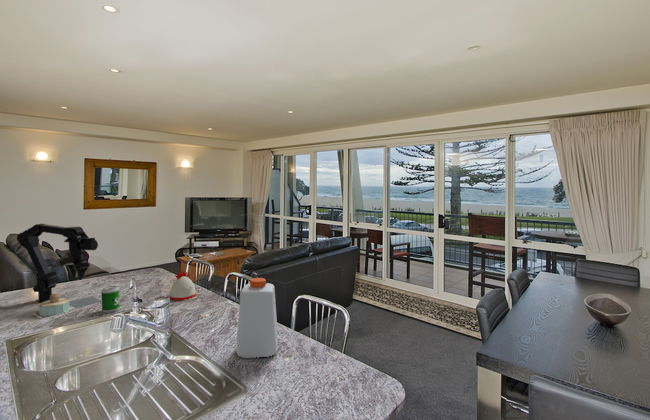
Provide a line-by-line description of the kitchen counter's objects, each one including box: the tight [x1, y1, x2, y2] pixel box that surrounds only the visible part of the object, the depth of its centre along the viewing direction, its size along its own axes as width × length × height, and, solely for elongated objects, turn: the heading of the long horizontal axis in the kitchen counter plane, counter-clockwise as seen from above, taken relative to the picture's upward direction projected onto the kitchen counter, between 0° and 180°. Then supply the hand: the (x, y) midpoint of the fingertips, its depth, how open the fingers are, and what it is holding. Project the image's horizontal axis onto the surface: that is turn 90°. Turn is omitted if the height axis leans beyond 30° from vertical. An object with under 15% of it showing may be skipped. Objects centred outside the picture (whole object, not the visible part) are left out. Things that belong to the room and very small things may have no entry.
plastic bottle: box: [236, 277, 279, 359], centre depth 128 cm, size 15×15×28 cm
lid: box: [40, 293, 69, 307], centre depth 162 cm, size 10×10×4 cm
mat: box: [69, 296, 102, 309], centre depth 177 cm, size 14×12×1 cm
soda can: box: [100, 285, 121, 314], centre depth 165 cm, size 8×8×12 cm
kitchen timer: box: [169, 270, 197, 301], centre depth 188 cm, size 14×14×15 cm
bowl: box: [38, 299, 71, 317], centre depth 163 cm, size 11×11×4 cm
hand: (76, 278), depth 178 cm, fingers open, 9 cm apart
